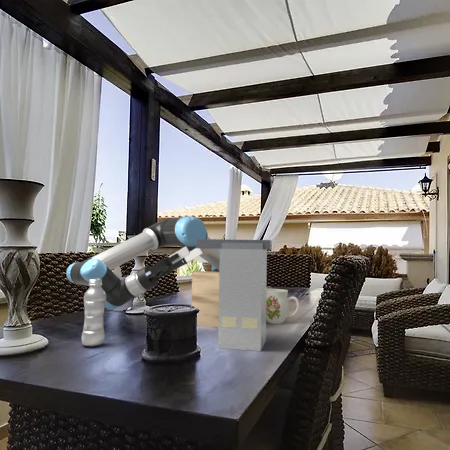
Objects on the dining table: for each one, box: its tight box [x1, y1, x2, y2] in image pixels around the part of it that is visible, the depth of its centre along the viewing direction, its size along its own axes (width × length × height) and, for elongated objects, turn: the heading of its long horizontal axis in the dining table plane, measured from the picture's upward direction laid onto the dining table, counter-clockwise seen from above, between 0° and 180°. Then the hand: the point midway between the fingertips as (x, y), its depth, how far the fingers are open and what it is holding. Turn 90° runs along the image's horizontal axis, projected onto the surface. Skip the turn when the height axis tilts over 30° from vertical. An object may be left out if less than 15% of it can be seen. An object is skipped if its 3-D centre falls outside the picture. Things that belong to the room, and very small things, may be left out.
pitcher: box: [266, 287, 300, 325], centre depth 156 cm, size 11×18×14 cm, turn 69°
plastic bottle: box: [81, 279, 106, 347], centre depth 115 cm, size 6×7×20 cm
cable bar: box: [196, 238, 273, 251], centre depth 122 cm, size 4×24×3 cm, turn 77°
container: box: [112, 276, 133, 312], centre depth 180 cm, size 10×10×15 cm
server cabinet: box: [217, 242, 268, 352], centre depth 120 cm, size 13×13×32 cm
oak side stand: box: [191, 270, 219, 328], centre depth 150 cm, size 9×18×20 cm, turn 77°
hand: (194, 249), depth 124 cm, fingers open, 13 cm apart
